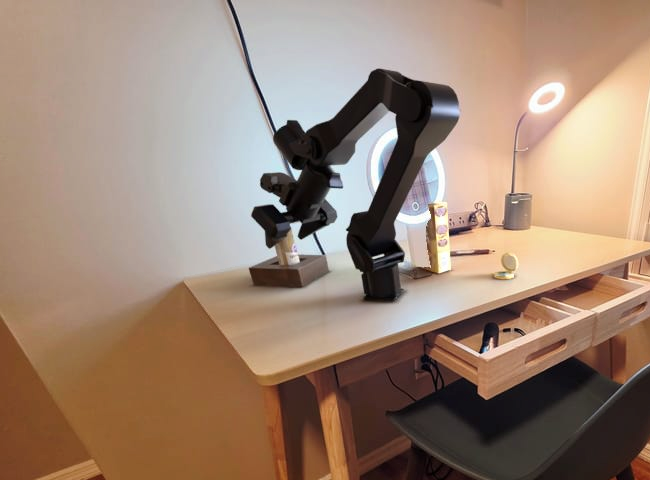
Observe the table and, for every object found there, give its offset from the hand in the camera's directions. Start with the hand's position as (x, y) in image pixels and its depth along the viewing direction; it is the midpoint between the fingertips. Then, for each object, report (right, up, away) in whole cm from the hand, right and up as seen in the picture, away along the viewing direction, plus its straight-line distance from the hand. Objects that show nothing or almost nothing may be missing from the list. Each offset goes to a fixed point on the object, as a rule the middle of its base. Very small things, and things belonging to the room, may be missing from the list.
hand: (284, 242), depth 83 cm
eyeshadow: (+49, -7, +2) cm, 50 cm away
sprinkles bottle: (0, -7, +4) cm, 8 cm away
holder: (0, -7, +4) cm, 8 cm away
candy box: (+32, -4, +9) cm, 34 cm away
